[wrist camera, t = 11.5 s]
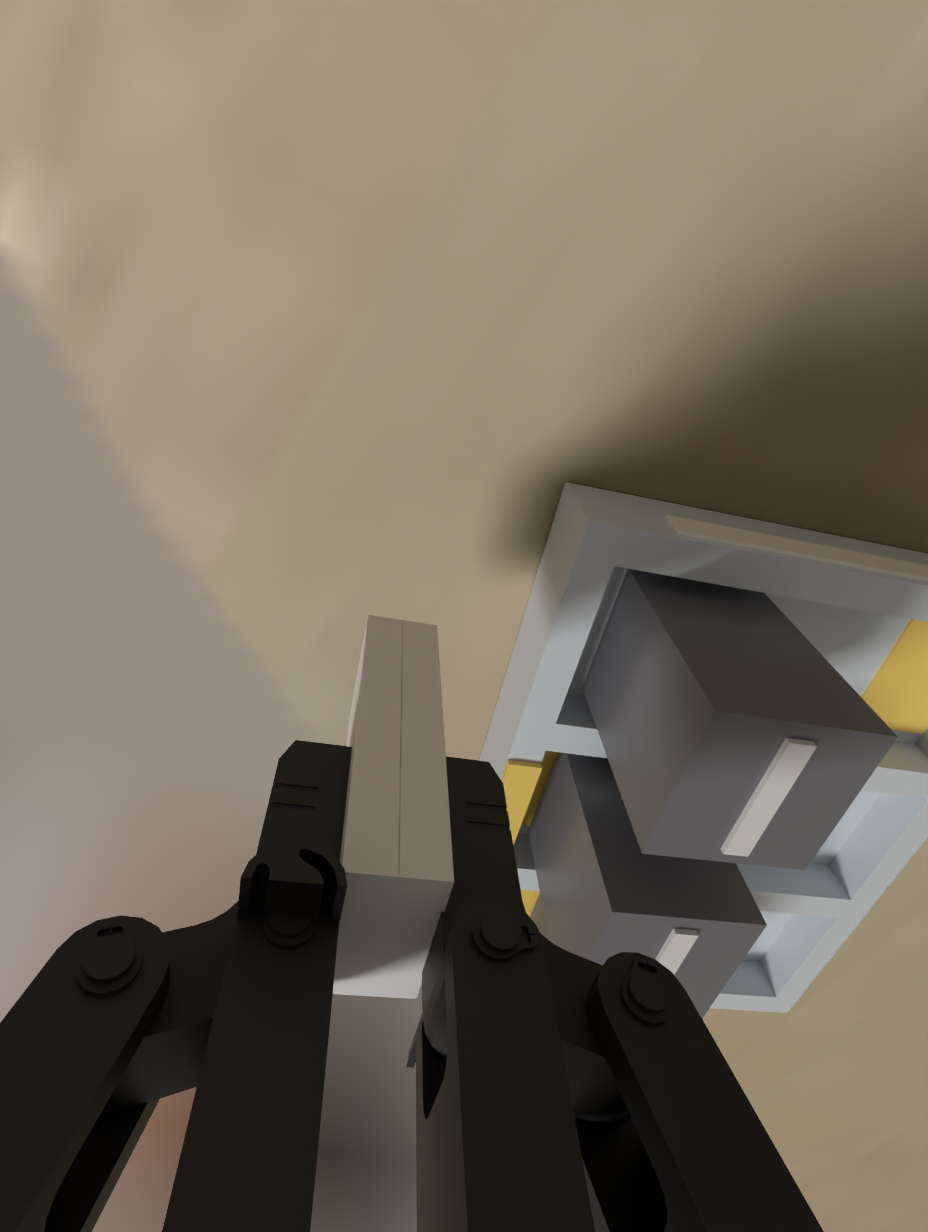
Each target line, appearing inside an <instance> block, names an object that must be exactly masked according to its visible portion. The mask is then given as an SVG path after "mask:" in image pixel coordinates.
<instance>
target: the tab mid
mask: <svg viewBox="0 0 928 1232" xmlns="http://www.w3.org/2000/svg"><path fill="white" fill-rule="evenodd" d="M528 832H529V838H530V843H531V848H532V853H533V858H534V864H535V869H536V874H537V879H538V884H539V890H540V895H541V900H542V905H543V911H544V916H545V921H546V926H547V931H548V937H549V941H551V942H552V943H553V944H555V945H556V946H558V947H560V948H562V949H564V950H566V951H568V952H571V953H573V954H576V955H578V956H581V957H583V958H586V959H588V960H591V961H593V962H596V963H598V964H601V965H603V964H604V963H605V962H606V960H607V959H608V958H609V957H611V956H614V955H616V954H618V953H620V952H637V953H641V954H643V955H646V956H648V957H651V958H653V959H656V960H657V961H658V962H659V963H661V964H662V965H663V966H665V967H666V968H667V969H669V970H670V971H671V972H672V973H673V974H674V975H675V977H676V978H677V979H678V981H679V982H680V983H681V985H682V986H683V987H684V989H685V990H686V992H687V994H688V995H689V997H690V999H691V1001H692V1002H693V1004H694V1006H695V1008H696V1009H697V1011H698V1013H699V1015H700V1016H701V1018H703V1017H704V1015H705V1014H706V1012H707V1011H708V1009H709V1008H710V1006H711V1005H712V1004H713V1002H714V1001H715V999H716V998H717V996H718V995H719V994H720V992H721V991H722V989H723V988H724V986H725V985H726V983H727V982H728V981H729V979H730V978H731V976H732V975H733V973H734V972H735V971H736V969H737V968H738V966H739V965H740V963H741V962H742V960H743V959H744V958H745V956H746V955H747V953H748V952H749V950H750V949H751V948H752V946H753V945H754V943H755V942H756V940H757V939H758V937H759V936H760V935H761V933H762V932H763V930H764V929H765V927H766V926H767V924H766V922H765V920H764V918H763V916H762V914H761V912H760V910H759V908H758V906H757V904H756V902H755V900H754V898H753V896H752V894H751V892H750V890H749V888H748V886H747V884H746V882H745V880H744V878H743V876H742V874H741V872H740V870H739V868H738V866H737V864H736V863H729V862H719V861H709V860H700V859H690V858H680V857H670V856H661V855H651V854H642V852H641V849H640V846H639V844H638V841H637V838H636V835H635V833H634V830H633V827H632V824H631V821H630V819H629V816H628V813H627V810H626V808H625V805H624V802H623V799H622V797H621V794H620V791H619V788H618V786H617V783H616V780H615V777H614V775H613V772H612V769H611V766H610V764H609V761H608V758H601V757H593V756H585V755H577V754H569V753H561V752H558V753H557V755H556V758H555V761H554V763H553V766H552V769H551V771H550V774H549V776H548V779H547V782H546V784H545V787H544V790H543V792H542V795H541V797H540V800H539V803H538V805H537V808H536V810H535V813H534V816H533V818H532V821H531V824H530V826H529V829H528Z"/></svg>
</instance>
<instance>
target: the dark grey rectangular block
mask: <svg viewBox="0 0 928 1232" xmlns="http://www.w3.org/2000/svg"><path fill="white" fill-rule="evenodd" d="M582 689H583V692H584V694H585V697H586V700H587V703H588V706H589V708H590V711H591V714H592V717H593V719H594V722H595V725H596V728H597V730H598V733H599V736H600V739H601V741H602V744H603V747H604V750H605V752H606V755H607V758H608V761H609V764H610V766H611V769H612V772H613V775H614V777H615V780H616V783H617V786H618V788H619V791H620V794H621V797H622V799H623V802H624V805H625V808H626V810H627V813H628V816H629V819H630V821H631V824H632V827H633V830H634V833H635V835H636V838H637V841H638V844H639V846H640V849H641V852H642V854H651V855H661V856H670V857H680V858H690V859H700V860H709V861H719V862H729V863H739V864H749V865H758V866H768V867H778V868H788V869H797V870H806V868H807V867H808V866H809V864H810V863H811V861H812V860H813V858H814V857H815V855H816V854H817V853H818V851H819V850H820V848H821V847H822V845H823V844H824V843H825V841H826V840H827V838H828V837H829V835H830V834H831V832H832V831H833V830H834V828H835V827H836V825H837V824H838V822H839V821H840V820H841V818H842V817H843V815H844V814H845V812H846V811H847V809H848V808H849V807H850V805H851V804H852V802H853V801H854V799H855V798H856V797H857V795H858V794H859V792H860V791H861V789H862V788H863V786H864V785H865V784H866V782H867V781H868V779H869V778H870V776H871V775H872V774H873V772H874V771H875V769H876V768H877V766H878V765H879V763H880V762H881V761H882V759H883V758H884V756H885V755H886V753H887V752H888V751H889V749H890V748H891V746H892V745H893V743H894V742H895V740H896V739H897V738H898V736H897V735H896V734H895V733H894V732H893V731H892V730H891V729H890V728H889V727H888V726H887V724H886V723H885V722H884V721H883V720H882V719H881V718H880V717H879V716H878V715H877V714H876V713H875V712H874V710H873V709H872V708H871V707H870V706H869V705H868V704H867V703H866V702H865V701H864V700H863V699H862V698H861V696H860V695H859V694H858V693H857V692H856V691H855V690H854V689H853V688H852V687H851V686H850V685H849V684H848V682H847V681H846V680H845V679H844V678H843V677H842V676H841V675H840V674H839V673H838V672H837V671H836V670H835V668H834V667H833V666H832V665H831V664H830V663H829V662H828V661H827V660H826V659H825V658H824V657H823V656H822V654H821V653H820V652H819V651H818V650H817V649H816V648H815V647H814V646H813V645H812V644H811V643H810V642H809V640H808V639H807V638H806V637H805V636H804V635H803V634H802V633H801V632H800V631H799V630H798V629H797V628H796V626H795V625H794V624H793V623H792V622H791V621H790V620H789V619H788V618H787V617H786V616H785V615H784V614H783V612H782V611H781V610H780V609H779V608H778V607H777V606H776V605H775V604H774V603H773V602H772V601H771V600H770V598H769V597H768V596H767V595H766V594H765V593H763V592H757V591H751V590H746V589H740V588H735V587H729V586H723V585H718V584H712V583H706V582H701V581H695V580H690V579H684V578H678V577H673V576H667V575H662V574H656V573H650V572H645V571H639V570H634V569H627V572H626V575H625V577H624V580H623V583H622V585H621V588H620V590H619V593H618V596H617V598H616V601H615V603H614V606H613V609H612V611H611V614H610V617H609V619H608V622H607V624H606V627H605V630H604V632H603V635H602V638H601V640H600V643H599V645H598V648H597V651H596V653H595V656H594V659H593V661H592V664H591V666H590V669H589V672H588V674H587V677H586V679H585V682H584V685H583V687H582Z"/></svg>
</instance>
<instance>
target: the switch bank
mask: <svg viewBox="0 0 928 1232" xmlns="http://www.w3.org/2000/svg"><path fill="white" fill-rule="evenodd" d="M627 569H634V570H639V571H645V572H650V573H656V574H662V575H667V576H673V577H678V578H684V579H690V580H695V581H701V582H706V583H712V584H718V585H723V586H729V587H735V588H740V589H746V590H751V591H757V592H763V593H765V594H766V595H767V596H768V597H769V598H770V600H771V601H772V602H773V603H774V604H775V605H776V606H777V607H778V608H779V609H780V610H781V611H782V612H783V614H784V615H785V616H786V617H787V618H788V619H789V620H790V621H791V622H792V623H793V624H794V625H795V626H796V628H797V629H798V630H799V631H800V632H801V633H802V634H803V635H804V636H805V637H806V638H807V639H808V640H809V642H810V643H811V644H812V645H813V646H814V647H815V648H816V649H817V650H818V651H819V652H820V653H821V654H822V656H823V657H824V658H825V659H826V660H827V661H828V662H829V663H830V664H831V665H832V666H833V667H834V668H835V670H836V671H837V672H838V673H839V674H840V675H841V676H842V677H843V678H844V679H845V680H846V681H847V682H848V684H849V685H850V686H851V687H852V688H853V689H854V690H855V691H856V692H857V693H858V694H859V695H860V696H861V698H862V699H863V700H864V701H865V702H866V703H867V704H868V705H869V706H870V707H871V708H872V709H873V710H874V712H875V713H876V714H877V715H878V716H879V717H880V718H881V719H882V720H883V721H884V722H885V723H886V724H887V726H888V727H889V728H890V729H891V730H892V731H893V732H894V733H895V734H896V735H897V736H898V738H897V739H896V740H895V742H894V743H893V745H892V746H891V748H890V749H889V751H888V752H887V753H886V755H885V756H884V758H883V759H882V761H881V762H880V763H879V765H878V766H877V768H876V769H875V771H874V772H873V774H872V775H871V776H870V778H869V779H868V781H867V782H866V784H865V785H864V786H863V788H862V789H861V791H860V792H859V794H858V795H857V797H856V798H855V799H854V801H853V802H852V804H851V805H850V807H849V808H848V809H847V811H846V812H845V814H844V815H843V817H842V818H841V820H840V821H839V822H838V824H837V825H836V827H835V828H834V830H833V831H832V832H831V834H830V835H829V837H828V838H827V840H826V841H825V843H824V844H823V845H822V847H821V848H820V850H819V851H818V853H817V854H816V855H815V857H814V858H813V860H812V861H811V863H810V864H809V866H808V867H807V868H806V870H797V869H788V868H778V867H768V866H758V865H749V864H739V863H736V864H737V866H738V868H739V870H740V872H741V874H742V876H743V878H744V880H745V882H746V884H747V886H748V888H749V890H750V892H751V894H752V896H753V898H754V900H755V902H756V904H757V906H758V908H759V910H760V912H761V914H762V916H763V918H764V920H765V922H766V924H767V926H766V927H765V929H764V930H763V932H762V933H761V935H760V936H759V937H758V939H757V940H756V942H755V943H754V945H753V946H752V948H751V949H750V950H749V952H748V953H747V955H746V956H745V958H744V959H743V960H742V962H741V963H740V965H739V966H738V968H737V969H736V971H735V972H734V973H733V975H732V976H731V978H730V979H729V981H728V982H727V983H726V985H725V986H724V988H723V989H722V991H721V992H720V994H719V995H718V996H717V998H716V999H715V1001H714V1002H713V1004H712V1005H711V1006H710V1008H717V1009H733V1010H749V1011H765V1012H781V1013H788V1011H789V1010H790V1009H791V1008H792V1006H793V1005H794V1004H795V1003H796V1001H797V1000H798V999H799V998H800V996H801V995H802V994H803V993H804V991H805V990H806V989H807V988H808V986H809V985H810V984H811V983H812V981H813V980H814V979H815V978H816V976H817V975H818V974H819V973H820V971H821V970H822V969H823V968H824V966H825V965H826V964H827V963H828V961H829V960H830V959H831V958H832V956H833V955H834V954H835V952H836V951H837V950H838V949H839V947H840V946H841V945H842V944H843V942H844V941H845V940H846V939H847V937H848V936H849V935H850V934H851V932H852V931H853V930H854V929H855V927H856V926H857V925H858V924H859V922H860V921H861V920H862V919H863V917H864V916H865V915H866V914H867V912H868V911H869V910H870V909H871V907H872V906H873V905H874V904H875V902H876V901H877V900H878V899H879V897H880V896H881V895H882V894H883V892H884V891H885V890H886V889H887V887H888V886H889V885H890V884H891V882H892V881H893V880H894V879H895V877H896V876H897V875H898V874H899V872H900V871H901V870H902V869H903V867H904V866H905V865H906V864H907V862H908V861H909V860H910V859H911V857H912V856H913V855H914V854H915V852H916V851H917V850H918V849H919V847H920V846H921V845H922V844H923V842H924V841H925V840H926V839H927V837H928V554H927V553H922V552H917V551H912V550H907V549H902V548H897V547H891V546H886V545H881V544H876V543H871V542H866V541H861V540H856V539H851V538H846V537H841V536H836V535H831V534H826V533H821V532H816V531H811V530H806V529H801V528H796V527H791V526H785V525H780V524H775V523H770V522H765V521H760V520H755V519H750V518H745V517H740V516H735V515H730V514H725V513H720V512H715V511H710V510H705V509H700V508H695V507H690V506H684V505H679V504H674V503H669V502H664V501H659V500H654V499H649V498H644V497H639V496H634V495H629V494H624V493H619V492H614V491H609V490H604V489H599V488H594V487H589V486H583V485H578V484H573V483H568V482H565V485H564V488H563V491H562V494H561V498H560V501H559V504H558V507H557V511H556V514H555V517H554V520H553V524H552V527H551V530H550V533H549V536H548V540H547V543H546V546H545V549H544V553H543V556H542V559H541V562H540V566H539V569H538V572H537V575H536V578H535V582H534V585H533V588H532V591H531V595H530V598H529V601H528V604H527V608H526V611H525V614H524V617H523V620H522V624H521V627H520V630H519V633H518V637H517V640H516V643H515V646H514V650H513V653H512V656H511V659H510V663H509V666H508V669H507V672H506V675H505V679H504V682H503V685H502V688H501V692H500V695H499V698H498V701H497V705H496V708H495V711H494V714H493V717H492V721H491V724H490V727H489V730H488V734H487V737H486V740H485V743H484V747H483V750H482V753H481V756H480V760H479V761H485V762H489V763H490V764H491V766H492V767H493V769H494V770H495V772H496V773H497V775H498V776H499V778H500V779H501V781H502V782H503V785H504V792H505V798H506V804H507V809H506V810H507V811H508V816H509V822H510V830H511V834H512V840H513V846H514V853H515V859H516V865H517V871H518V877H519V883H520V889H521V895H522V901H523V904H524V907H525V911H526V913H527V914H528V916H529V917H530V915H531V913H532V910H533V908H534V906H535V903H536V901H537V899H538V896H539V894H540V890H539V884H538V879H537V874H536V869H535V864H534V858H533V853H532V848H531V843H530V838H529V832H528V829H529V826H530V824H531V821H532V818H533V816H534V813H535V810H536V808H537V805H538V803H539V800H540V797H541V795H542V792H543V790H544V787H545V784H546V782H547V779H548V776H549V774H550V771H551V769H552V766H553V763H554V761H555V758H556V755H557V753H558V752H561V753H569V754H577V755H585V756H593V757H601V758H607V755H606V752H605V750H604V747H603V744H602V741H601V739H600V736H599V733H598V730H597V728H596V725H595V722H594V719H593V717H592V714H591V711H590V708H589V706H588V703H587V700H586V697H585V694H584V692H583V689H582V687H583V685H584V682H585V679H586V677H587V674H588V672H589V669H590V666H591V664H592V661H593V659H594V656H595V653H596V651H597V648H598V645H599V643H600V640H601V638H602V635H603V632H604V630H605V627H606V624H607V622H608V619H609V617H610V614H611V611H612V609H613V606H614V603H615V601H616V598H617V596H618V593H619V590H620V588H621V585H622V583H623V580H624V577H625V575H626V572H627Z"/></svg>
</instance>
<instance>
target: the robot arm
mask: <svg viewBox="0 0 928 1232" xmlns="http://www.w3.org/2000/svg"><path fill="white" fill-rule="evenodd" d="M506 809H507V804H506V798H505V792H504V785H503V782H502V781H501V779H500V778H499V776H498V775H497V773H496V772H495V770H494V769H493V767H492V766H491V764H490V763H489V762H485V761H477V760H469V759H461V758H453V757H446V753H445V738H444V723H443V708H442V693H441V678H440V663H439V648H438V633H437V625H430V624H424V623H417V622H411V621H405V620H398V619H392V618H385V617H379V616H372V615H368V617H367V623H366V629H365V634H364V640H363V645H362V651H361V657H360V662H359V668H358V674H357V679H356V685H355V690H354V696H353V702H352V707H351V713H350V721H349V729H348V738H347V746H340V745H331V744H323V743H315V742H307V741H298V740H295V742H294V743H293V744H292V745H291V746H290V747H289V748H288V750H287V751H286V752H285V753H284V754H283V755H282V756H281V757H280V758H279V761H278V766H277V769H276V774H275V778H274V783H273V787H272V791H271V795H270V799H269V804H268V808H267V812H266V816H265V821H264V824H263V829H262V833H261V837H260V841H259V845H258V850H257V854H256V856H254V857H253V858H252V859H251V860H250V861H249V862H248V864H247V866H246V868H245V870H244V872H243V874H242V876H241V882H240V893H239V901H238V902H237V903H236V904H234V906H232V907H231V908H230V909H229V910H228V911H226V912H225V913H223V914H221V915H220V916H218V917H216V918H214V919H212V920H210V921H207V922H204V923H201V924H198V925H195V926H190V927H186V928H181V929H176V930H172V931H167V932H163V933H162V932H161V930H160V929H159V927H157V926H156V925H154V924H152V923H150V922H148V921H146V920H145V919H143V918H138V917H129V916H116V917H111V918H107V919H103V920H97V921H95V922H93V923H91V924H90V925H88V926H86V927H84V928H82V929H80V930H78V931H76V932H75V933H74V934H73V935H72V936H70V937H69V938H68V939H67V940H66V941H65V942H64V943H63V944H62V945H61V946H60V947H59V948H58V949H57V950H56V951H55V953H54V954H53V955H52V956H51V958H50V959H49V960H48V962H47V963H46V964H45V966H44V967H43V968H42V970H41V971H40V972H39V973H38V975H37V976H36V977H35V979H34V980H33V981H32V982H31V984H30V985H29V986H28V988H27V989H26V990H25V992H24V993H23V994H22V996H21V997H20V998H19V999H18V1001H17V1002H16V1003H15V1005H14V1006H13V1007H12V1008H11V1010H10V1011H9V1012H8V1014H7V1015H6V1016H5V1018H4V1019H3V1020H2V1021H1V1023H0V1232H92V1230H93V1228H94V1226H95V1224H96V1222H97V1220H98V1218H99V1216H100V1214H101V1212H102V1210H103V1209H104V1206H105V1204H106V1203H107V1201H108V1199H109V1197H110V1195H111V1193H112V1191H113V1189H114V1187H115V1185H116V1183H117V1181H118V1179H119V1177H120V1175H121V1173H122V1171H123V1169H124V1168H125V1165H126V1163H127V1162H128V1160H129V1158H130V1156H131V1154H132V1152H133V1150H134V1148H135V1146H136V1144H137V1142H138V1140H139V1138H140V1136H141V1134H142V1132H143V1130H144V1128H145V1126H146V1125H147V1122H148V1121H149V1119H150V1117H151V1115H152V1113H153V1111H154V1109H155V1107H156V1105H157V1103H158V1101H159V1099H160V1098H163V1097H166V1096H169V1095H172V1094H175V1093H178V1092H181V1091H184V1090H188V1089H191V1088H194V1087H197V1089H196V1093H195V1097H194V1101H193V1105H192V1110H191V1114H190V1118H189V1123H188V1126H187V1131H186V1134H185V1139H184V1143H183V1147H182V1151H181V1155H180V1159H179V1164H178V1168H177V1172H176V1176H175V1180H174V1185H173V1189H172V1193H171V1197H170V1201H169V1205H168V1210H167V1214H166V1218H165V1222H164V1226H163V1230H162V1232H310V1226H311V1215H312V1204H313V1194H314V1184H315V1173H316V1162H317V1152H318V1141H319V1131H320V1120H321V1109H322V1100H323V1089H324V1078H325V1068H326V1057H327V1047H328V1036H329V1026H330V1014H331V1005H332V994H344V995H360V996H378V997H394V998H412V999H416V998H417V995H418V992H419V989H420V986H421V983H422V1005H423V1012H422V1015H421V1018H420V1021H419V1024H418V1027H417V1030H416V1033H415V1036H414V1039H413V1042H412V1045H411V1048H410V1051H409V1056H408V1062H407V1067H414V1065H415V1063H416V1141H417V1142H416V1143H417V1144H416V1147H417V1148H416V1149H417V1150H416V1151H417V1152H416V1161H417V1232H824V1231H823V1230H822V1228H821V1226H820V1224H819V1223H818V1221H817V1219H816V1217H815V1216H814V1214H813V1212H812V1210H811V1209H810V1207H809V1205H808V1203H807V1202H806V1200H805V1198H804V1196H803V1195H802V1193H801V1191H800V1189H799V1188H798V1186H797V1184H796V1183H795V1181H794V1179H793V1177H792V1176H791V1174H790V1172H789V1170H788V1169H787V1167H786V1165H785V1163H784V1162H783V1160H782V1158H781V1156H780V1155H779V1153H778V1151H777V1149H776V1148H775V1146H774V1144H773V1142H772V1141H771V1139H770V1137H769V1135H768V1134H767V1132H766V1130H765V1128H764V1127H763V1125H762V1123H761V1121H760V1120H759V1118H758V1116H757V1114H756V1113H755V1111H754V1109H753V1107H752V1106H751V1104H750V1102H749V1100H748V1099H747V1097H746V1095H745V1093H744V1092H743V1090H742V1088H741V1086H740V1085H739V1083H738V1081H737V1079H736V1078H735V1076H734V1074H733V1072H732V1071H731V1069H730V1067H729V1065H728V1064H727V1062H726V1060H725V1058H724V1057H723V1055H722V1053H721V1051H720V1050H719V1048H718V1046H717V1044H716V1043H715V1041H714V1039H713V1037H712V1036H711V1034H710V1032H709V1030H708V1029H707V1027H706V1025H705V1023H704V1022H703V1020H702V1018H701V1016H700V1015H699V1013H698V1011H697V1009H696V1008H695V1006H694V1004H693V1002H692V1001H691V999H690V997H689V995H688V994H687V992H686V990H685V989H684V987H683V986H682V985H681V983H680V982H679V981H678V979H677V978H676V977H675V975H674V974H673V973H672V972H671V971H670V970H669V969H667V968H666V967H665V966H663V965H662V964H661V963H659V962H658V961H657V960H656V959H653V958H651V957H648V956H646V955H643V954H641V953H637V952H620V953H618V954H616V955H614V956H611V957H609V958H608V959H607V960H606V962H605V963H604V964H603V965H601V964H598V963H596V962H593V961H591V960H588V959H586V958H583V957H581V956H578V955H576V954H573V953H571V952H568V951H566V950H564V949H562V948H560V947H558V946H556V945H555V944H553V943H552V942H551V941H549V940H548V939H547V938H545V937H544V936H543V935H542V934H541V933H540V932H539V930H538V927H537V925H536V924H535V923H534V922H533V920H532V919H531V918H530V917H529V916H528V914H527V913H526V911H525V907H524V904H523V901H522V895H521V889H520V883H519V877H518V871H517V865H516V859H515V853H514V846H513V840H512V834H511V830H510V822H509V816H508V811H507V810H506Z"/></svg>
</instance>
